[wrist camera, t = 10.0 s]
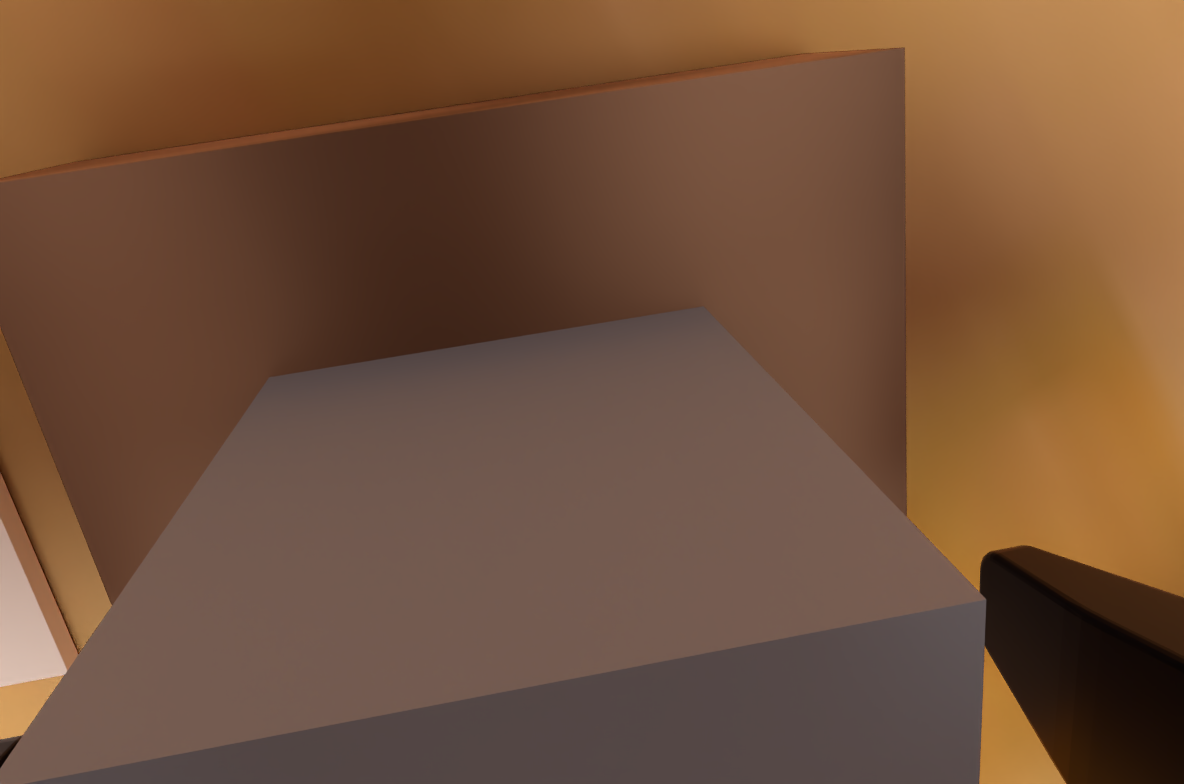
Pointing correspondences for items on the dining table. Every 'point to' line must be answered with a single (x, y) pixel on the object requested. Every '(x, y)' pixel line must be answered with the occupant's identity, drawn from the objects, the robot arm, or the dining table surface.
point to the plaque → (27, 608)
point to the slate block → (529, 588)
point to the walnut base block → (459, 260)
